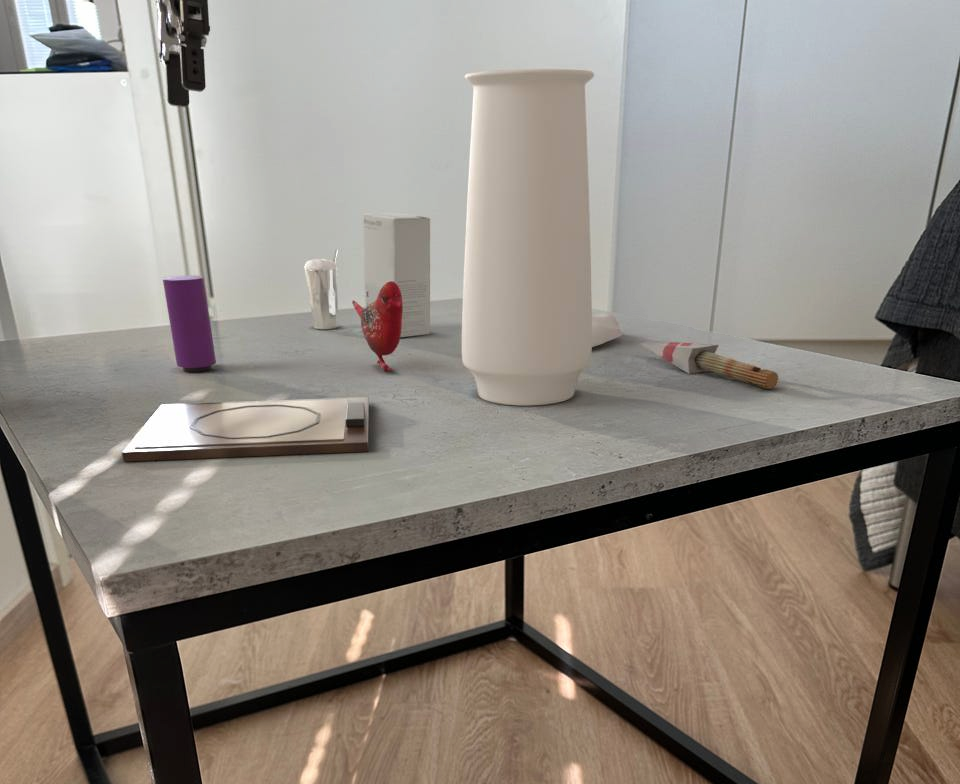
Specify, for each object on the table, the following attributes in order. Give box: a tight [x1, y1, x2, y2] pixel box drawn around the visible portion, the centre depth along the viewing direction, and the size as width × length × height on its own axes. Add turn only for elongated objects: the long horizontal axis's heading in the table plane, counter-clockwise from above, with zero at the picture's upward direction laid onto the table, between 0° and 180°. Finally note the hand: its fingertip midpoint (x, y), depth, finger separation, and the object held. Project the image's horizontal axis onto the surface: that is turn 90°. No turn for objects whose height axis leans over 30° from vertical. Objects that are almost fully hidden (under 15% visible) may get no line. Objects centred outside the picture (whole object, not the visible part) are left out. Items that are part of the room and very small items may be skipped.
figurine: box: [592, 310, 624, 348], centre depth 116 cm, size 20×18×16 cm
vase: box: [461, 68, 595, 407], centre depth 88 cm, size 13×13×28 cm
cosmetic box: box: [362, 212, 431, 338], centre depth 123 cm, size 8×6×15 cm
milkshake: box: [303, 249, 339, 330], centre depth 129 cm, size 4×5×10 cm
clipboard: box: [121, 396, 370, 463], centre depth 83 cm, size 20×16×2 cm
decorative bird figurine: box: [351, 281, 403, 372], centre depth 105 cm, size 3×18×10 cm, turn 24°
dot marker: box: [162, 274, 217, 373], centre depth 105 cm, size 4×4×10 cm
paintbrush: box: [639, 340, 779, 390], centre depth 102 cm, size 4×3×20 cm
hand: (186, 98), depth 96 cm, fingers open, 8 cm apart
